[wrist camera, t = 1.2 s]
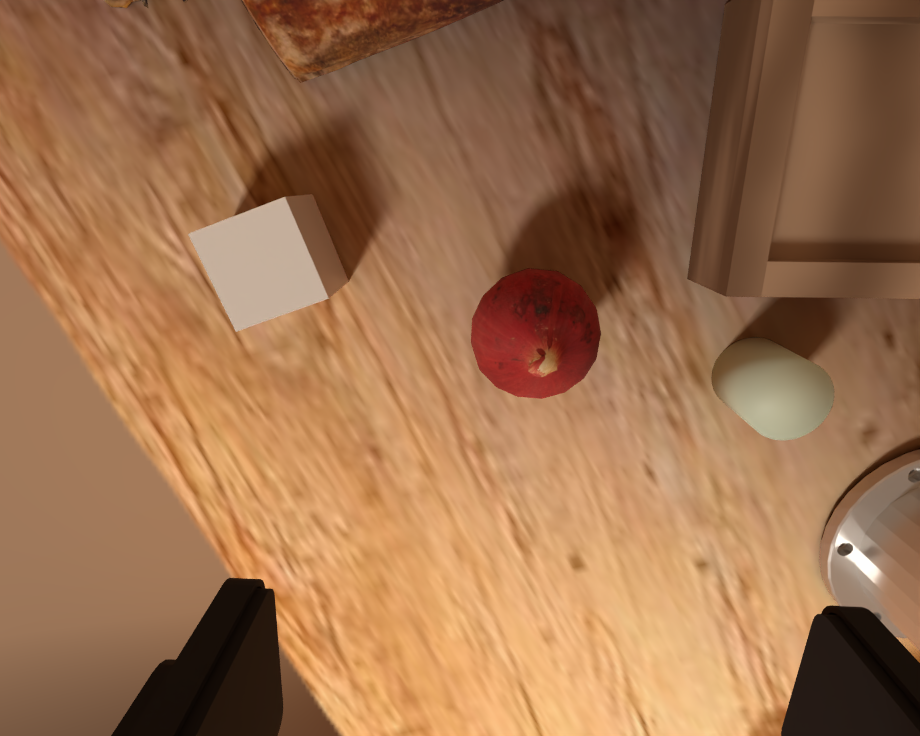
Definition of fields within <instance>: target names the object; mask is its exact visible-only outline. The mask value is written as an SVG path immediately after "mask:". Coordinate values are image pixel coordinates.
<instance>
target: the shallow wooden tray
mask: <svg viewBox="0 0 920 736" xmlns="http://www.w3.org/2000/svg"><path fill="white" fill-rule="evenodd" d="M687 279H689V280H691V281H693V282H695V283H698V284H700V285H702V286H704V287H706V288H709V289H711V290H713V291H715V292H717V293H720V294H722V295H724V296H732V297H813V298H894V299H920V0H731V1H730V2H728V3H727V4H725V8H724V16H723V23H722V30H721V37H720V45H719V52H718V59H717V67H716V74H715V81H714V88H713V96H712V103H711V110H710V118H709V125H708V132H707V140H706V147H705V154H704V161H703V169H702V176H701V183H700V191H699V198H698V205H697V213H696V220H695V227H694V234H693V242H692V249H691V256H690V264H689V271H688V278H687Z"/></svg>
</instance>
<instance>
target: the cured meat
mask: <svg viewBox="0 0 920 736" xmlns="http://www.w3.org/2000/svg"><path fill="white" fill-rule="evenodd" d="M104 1H105V2H106V3H107V4H109V5H110V6H111V7H124V8H127V7H128V6H129V5H130V4H131V3H132V2H134V1H141V0H104ZM142 1H143V4H144V6H146V7H147V8H148V3H147V0H142ZM183 1H184V2H186V1H187V0H183ZM241 1H242V2H243V4H244V6H245V7H246V9H247V11H248V12H249V14H250V16H251V17H252V19H253V21H254V22H255V24H256V25H257V27H258V28H259V30H260V31H261V33H262V35H263V36H264V38H265V39H266V41H267V42H268V44H269V45H270V47H271V48H272V49H273V51H274V52H275V54H276V55H277V57H278V58H279V59H280V61H281V62H282V63H283V65H284V66H285V67H286V69H287V70H288V71H289V72H290V74H291V75H292V76H293V77H294V78H295V79H298V80H299V82H300V83H301V82H304V81H307V80H310V79H313V78H315V77H318V76H321V75H324V74H327V73H330V72H333V71H335V70H338V69H340V68H342V67H345V66H347V65H349V64H352V63H354V62H356V61H358V60H361V59H363V58H366V57H369V56H371V55H374V54H376V53H379V52H382V51H384V50H387V49H390V48H392V47H395V46H397V45H400V44H403V43H405V42H408V41H410V40H413V39H415V38H418V37H420V36H423V35H425V34H427V33H430V32H432V31H435V30H437V29H440V28H442V27H444V26H446V25H449V24H451V23H453V22H456V21H458V20H460V19H463V18H465V17H467V16H470V15H472V14H474V13H476V12H479V11H481V10H483V9H485V8H488V7H490V6H492V5H495V4H497V3H499V2H501V1H503V0H241Z"/></svg>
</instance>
